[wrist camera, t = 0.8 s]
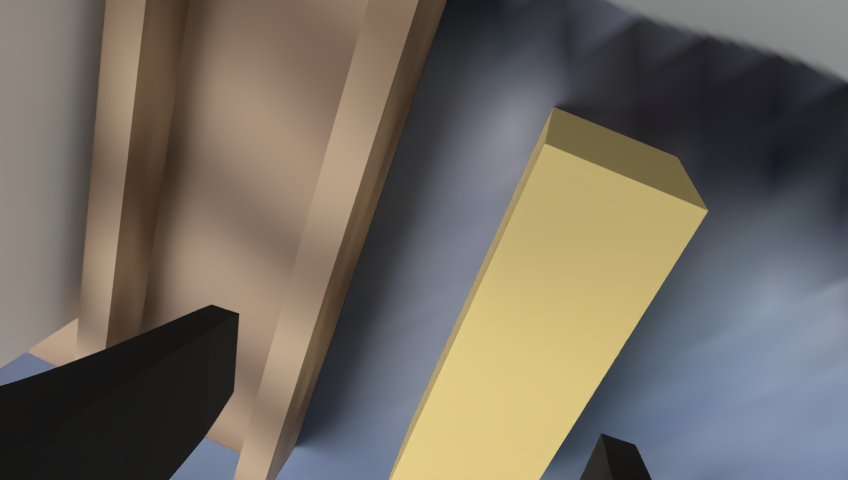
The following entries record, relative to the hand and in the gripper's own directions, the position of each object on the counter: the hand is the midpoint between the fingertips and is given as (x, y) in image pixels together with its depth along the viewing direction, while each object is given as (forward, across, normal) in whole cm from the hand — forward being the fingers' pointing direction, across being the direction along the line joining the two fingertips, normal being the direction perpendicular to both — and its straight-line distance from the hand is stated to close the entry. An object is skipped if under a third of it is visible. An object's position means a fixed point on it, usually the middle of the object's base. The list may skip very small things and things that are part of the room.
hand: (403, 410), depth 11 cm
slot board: (+10, +12, +1) cm, 15 cm away
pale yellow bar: (+10, -2, +3) cm, 11 cm away
